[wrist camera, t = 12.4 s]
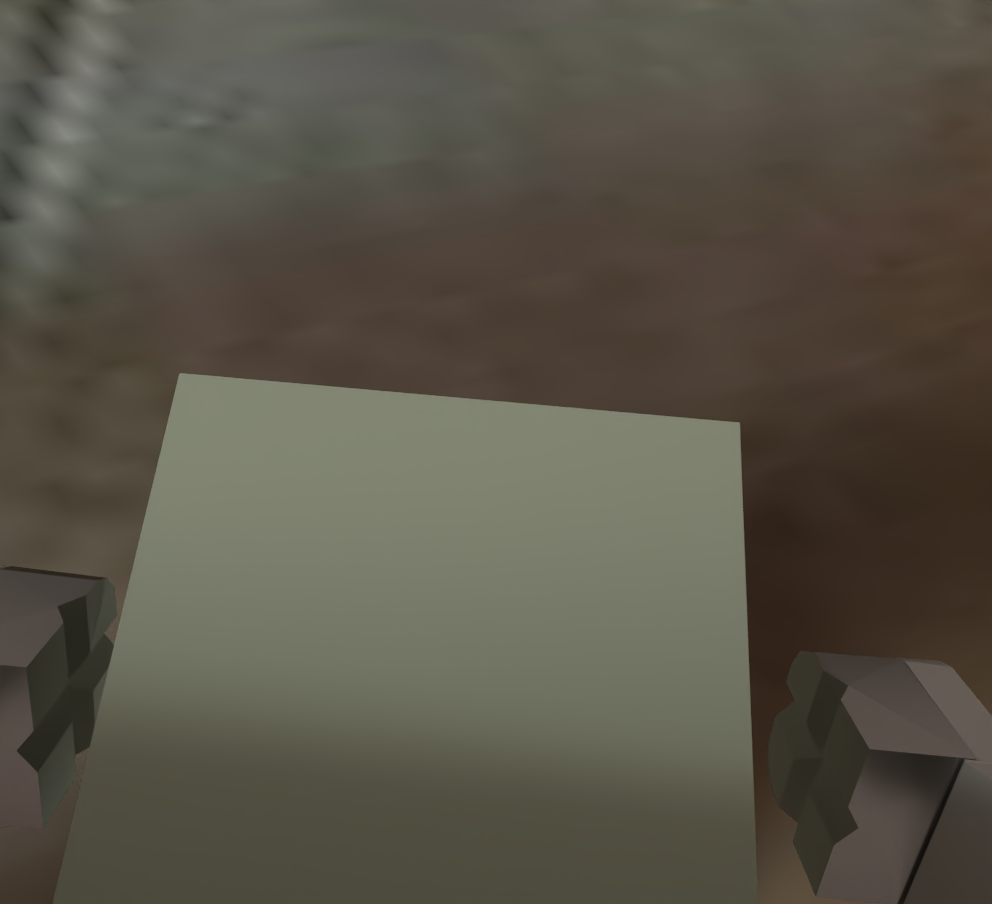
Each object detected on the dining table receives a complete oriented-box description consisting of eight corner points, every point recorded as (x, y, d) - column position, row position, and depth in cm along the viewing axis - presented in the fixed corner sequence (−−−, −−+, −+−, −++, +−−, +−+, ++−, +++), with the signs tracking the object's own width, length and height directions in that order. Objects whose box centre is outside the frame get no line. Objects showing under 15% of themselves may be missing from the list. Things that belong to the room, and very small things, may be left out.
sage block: (261, 906, 13) (18, 1042, 6) (312, 584, 15) (179, 372, 8) (587, 932, 13) (765, 1098, 6) (596, 609, 15) (739, 421, 8)
